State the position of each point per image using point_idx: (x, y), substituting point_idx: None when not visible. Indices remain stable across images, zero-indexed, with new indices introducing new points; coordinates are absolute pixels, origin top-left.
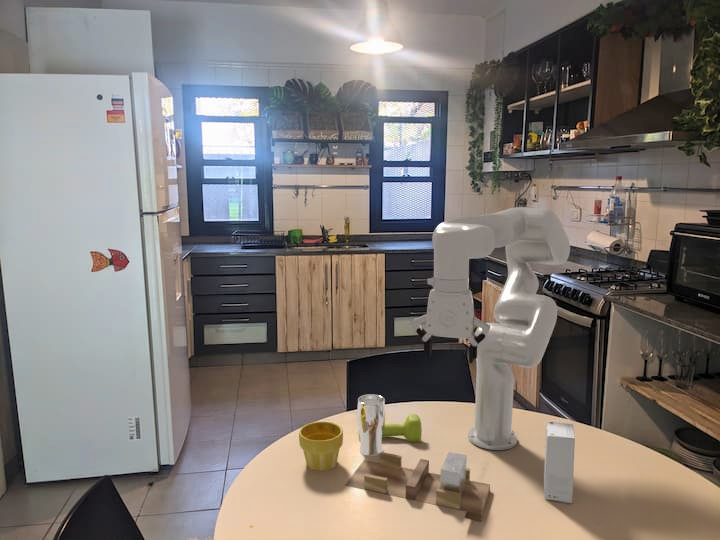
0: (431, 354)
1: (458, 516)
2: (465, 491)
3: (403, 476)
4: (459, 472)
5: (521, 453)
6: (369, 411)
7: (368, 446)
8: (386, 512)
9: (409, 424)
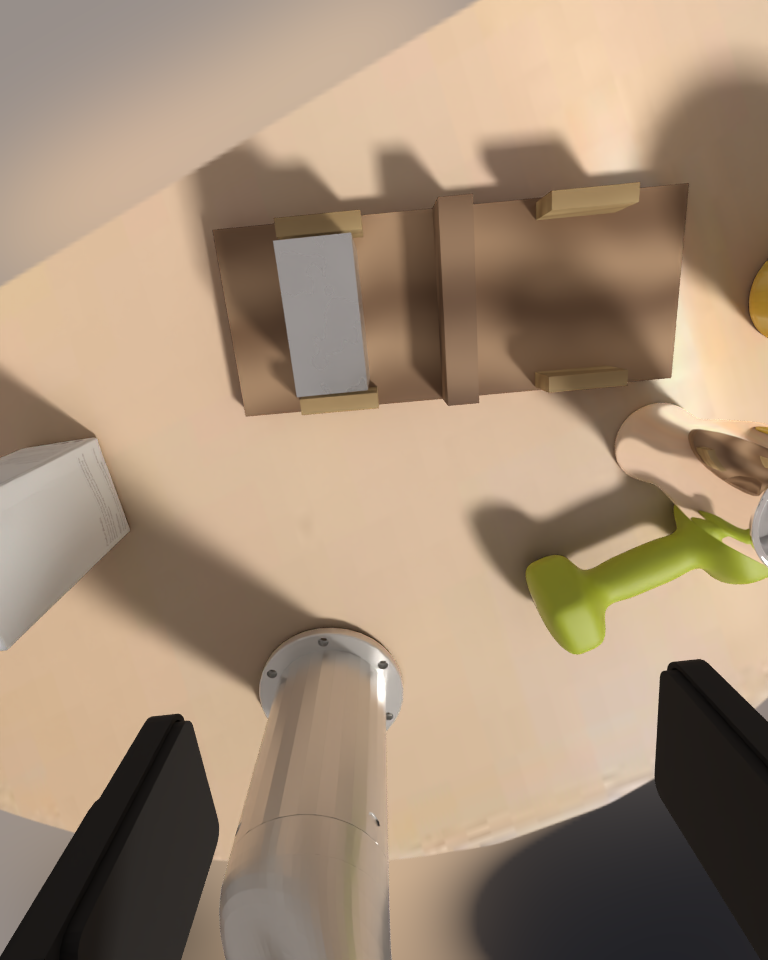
0: (662, 768)
1: None
2: None
3: (511, 335)
4: (276, 245)
5: (234, 646)
6: None
7: (683, 417)
8: (503, 134)
9: (582, 589)
